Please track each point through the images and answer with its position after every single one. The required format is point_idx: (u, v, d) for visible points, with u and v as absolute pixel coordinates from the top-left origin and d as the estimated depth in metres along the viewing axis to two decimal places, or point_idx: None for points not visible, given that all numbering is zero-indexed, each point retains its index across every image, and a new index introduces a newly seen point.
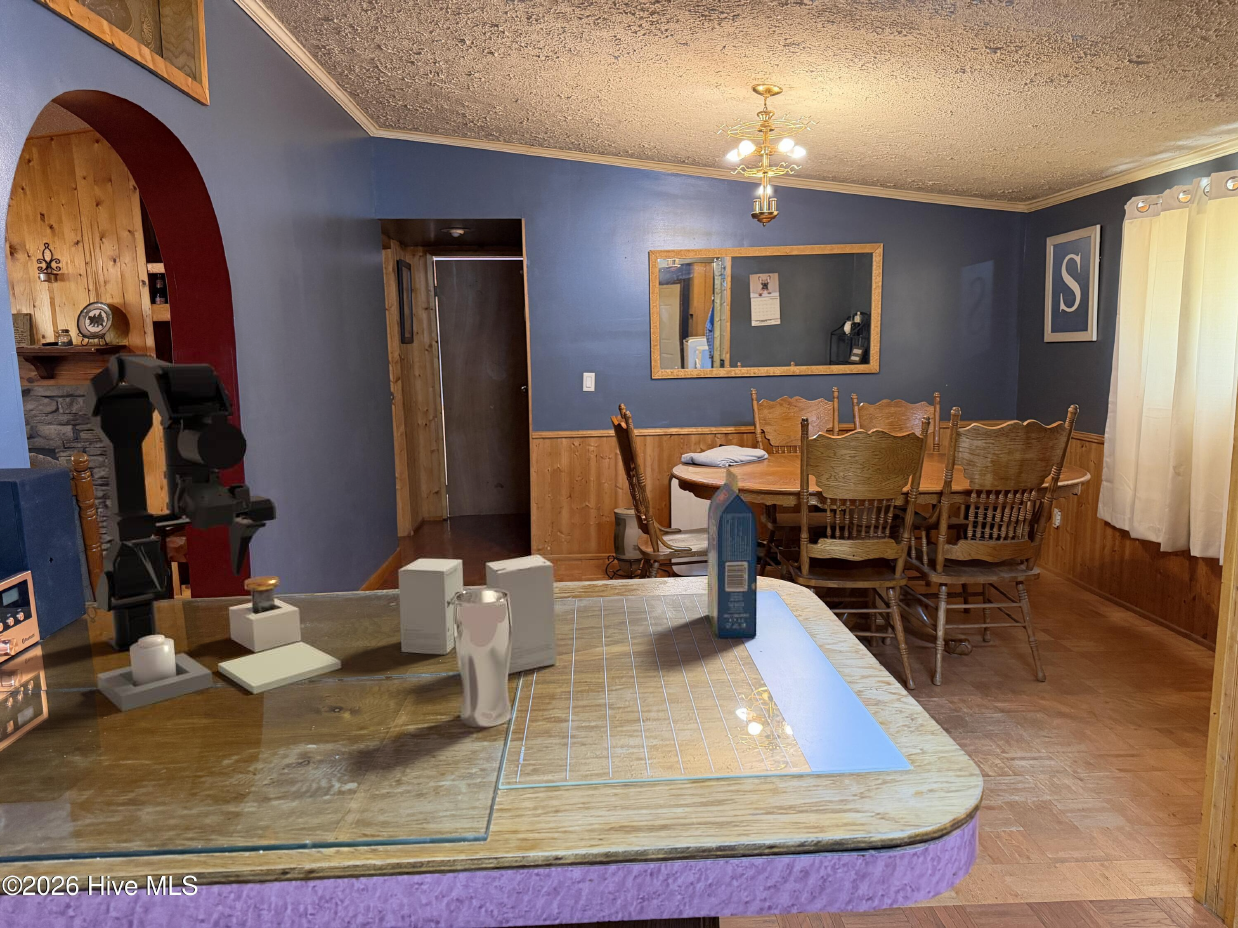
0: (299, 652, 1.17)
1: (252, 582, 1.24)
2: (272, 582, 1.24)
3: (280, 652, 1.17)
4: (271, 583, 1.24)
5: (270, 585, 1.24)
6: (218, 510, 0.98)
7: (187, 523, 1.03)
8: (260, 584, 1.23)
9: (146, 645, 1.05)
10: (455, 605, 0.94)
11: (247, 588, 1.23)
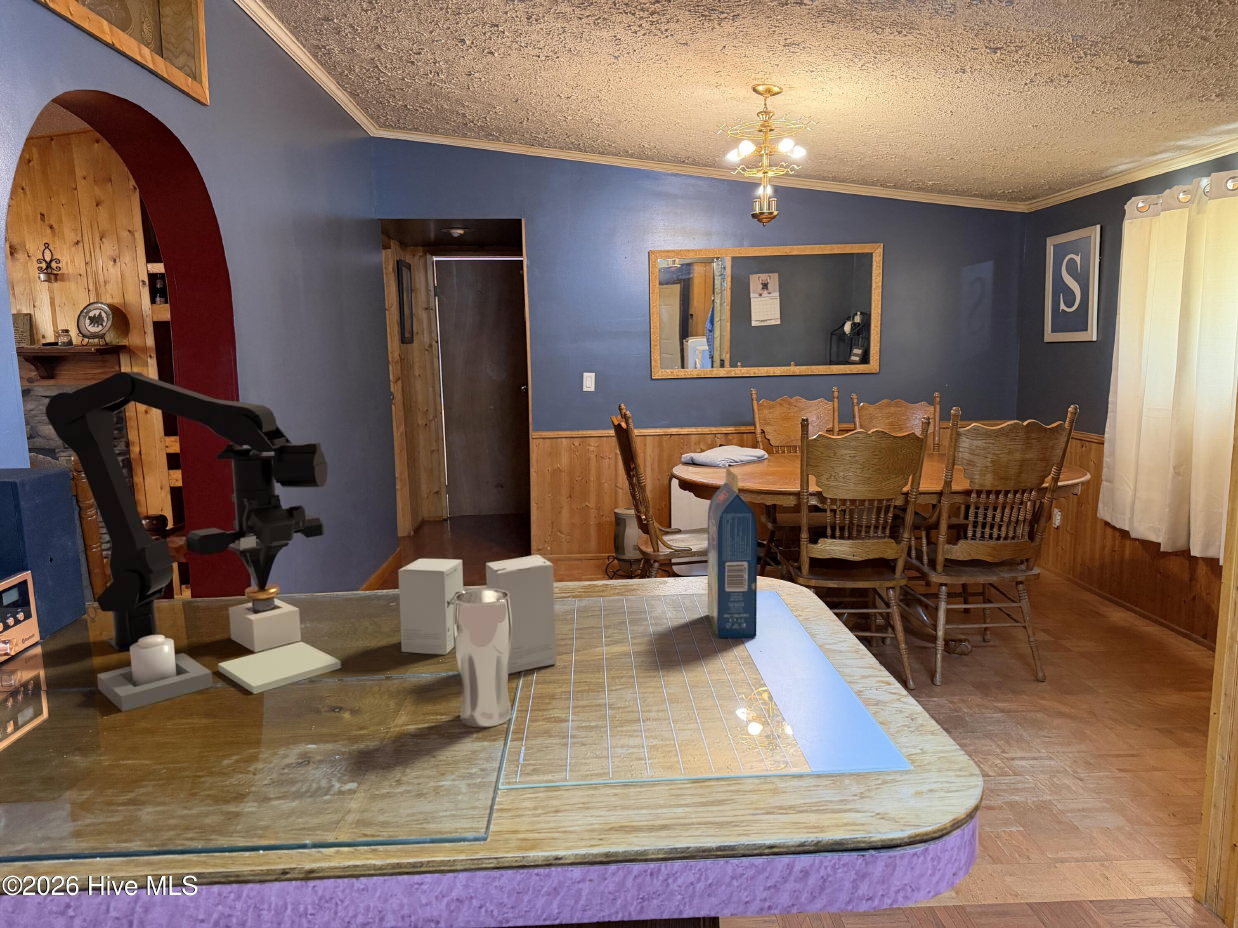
0: (299, 652, 1.17)
1: (253, 590, 1.24)
2: (273, 590, 1.24)
3: (280, 652, 1.17)
4: (272, 591, 1.24)
5: (271, 593, 1.24)
6: (280, 528, 1.18)
7: None
8: (261, 593, 1.23)
9: (146, 645, 1.05)
10: (455, 605, 0.94)
11: (248, 597, 1.23)
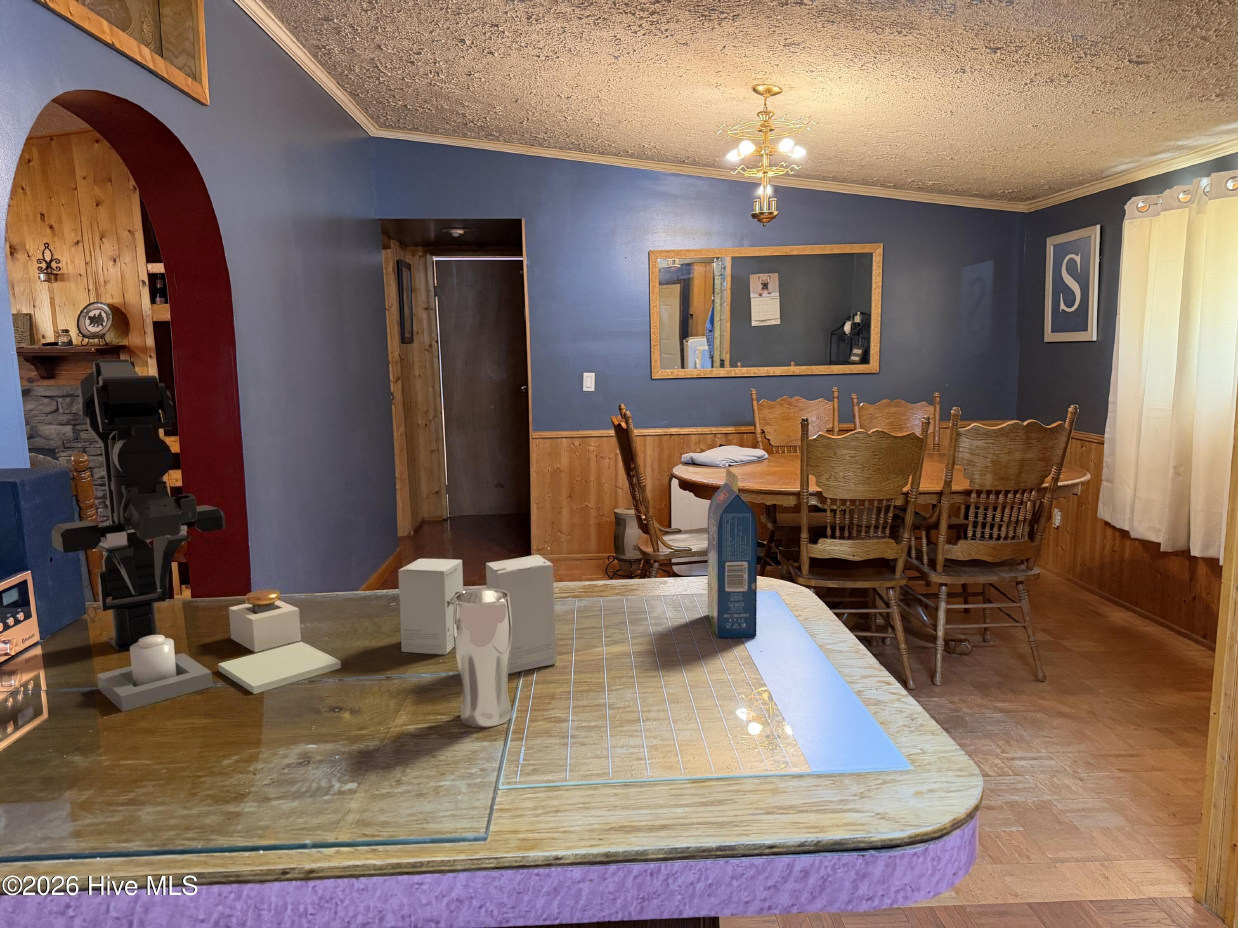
0: (299, 652, 1.17)
1: (253, 596, 1.24)
2: (273, 596, 1.24)
3: (280, 652, 1.17)
4: (272, 597, 1.24)
5: (271, 599, 1.24)
6: (163, 520, 0.99)
7: (134, 533, 1.04)
8: (261, 598, 1.23)
9: (146, 645, 1.05)
10: (455, 605, 0.94)
11: (248, 602, 1.23)
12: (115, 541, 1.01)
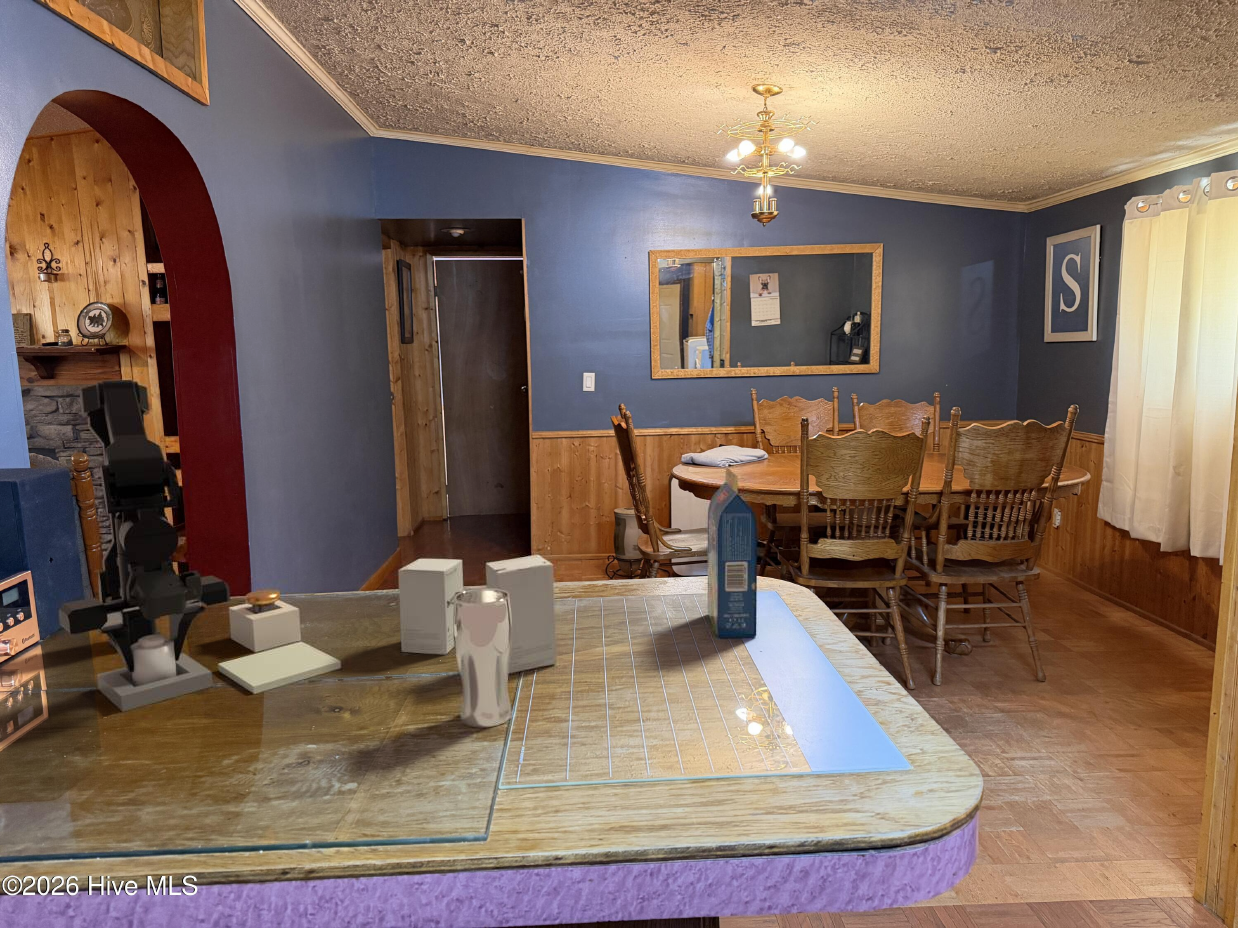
0: (299, 652, 1.17)
1: (253, 596, 1.24)
2: (273, 596, 1.24)
3: (280, 652, 1.17)
4: (272, 597, 1.24)
5: (271, 599, 1.24)
6: (168, 600, 1.00)
7: (140, 609, 1.05)
8: (261, 598, 1.23)
9: (146, 645, 1.05)
10: (455, 605, 0.94)
11: (248, 602, 1.23)
12: (110, 621, 1.01)
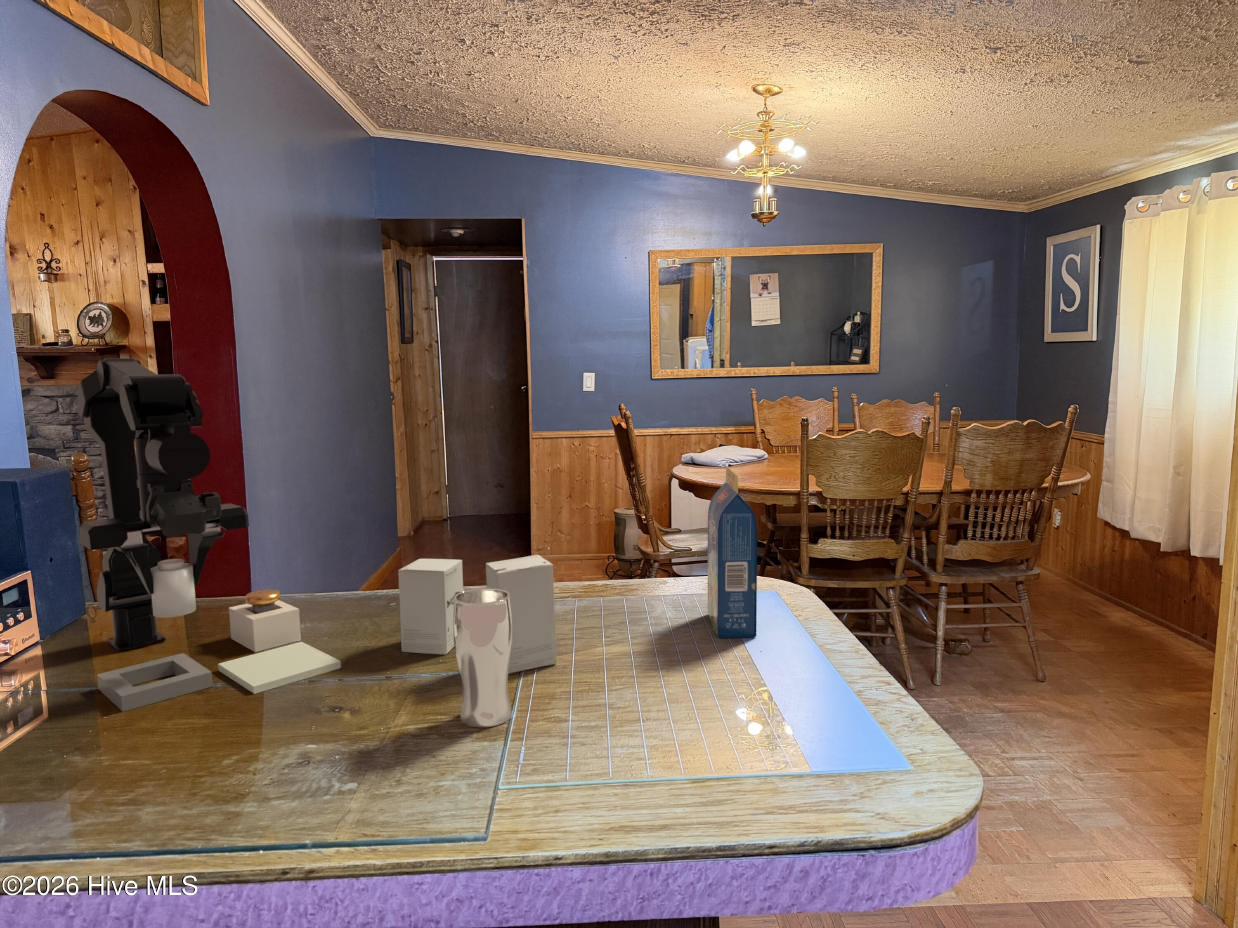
0: (299, 652, 1.17)
1: (253, 596, 1.24)
2: (273, 596, 1.24)
3: (280, 652, 1.17)
4: (272, 597, 1.24)
5: (271, 599, 1.24)
6: (188, 518, 1.00)
7: (159, 531, 1.05)
8: (261, 598, 1.23)
9: (165, 567, 1.05)
10: (455, 605, 0.94)
11: (248, 602, 1.23)
12: (130, 540, 1.01)
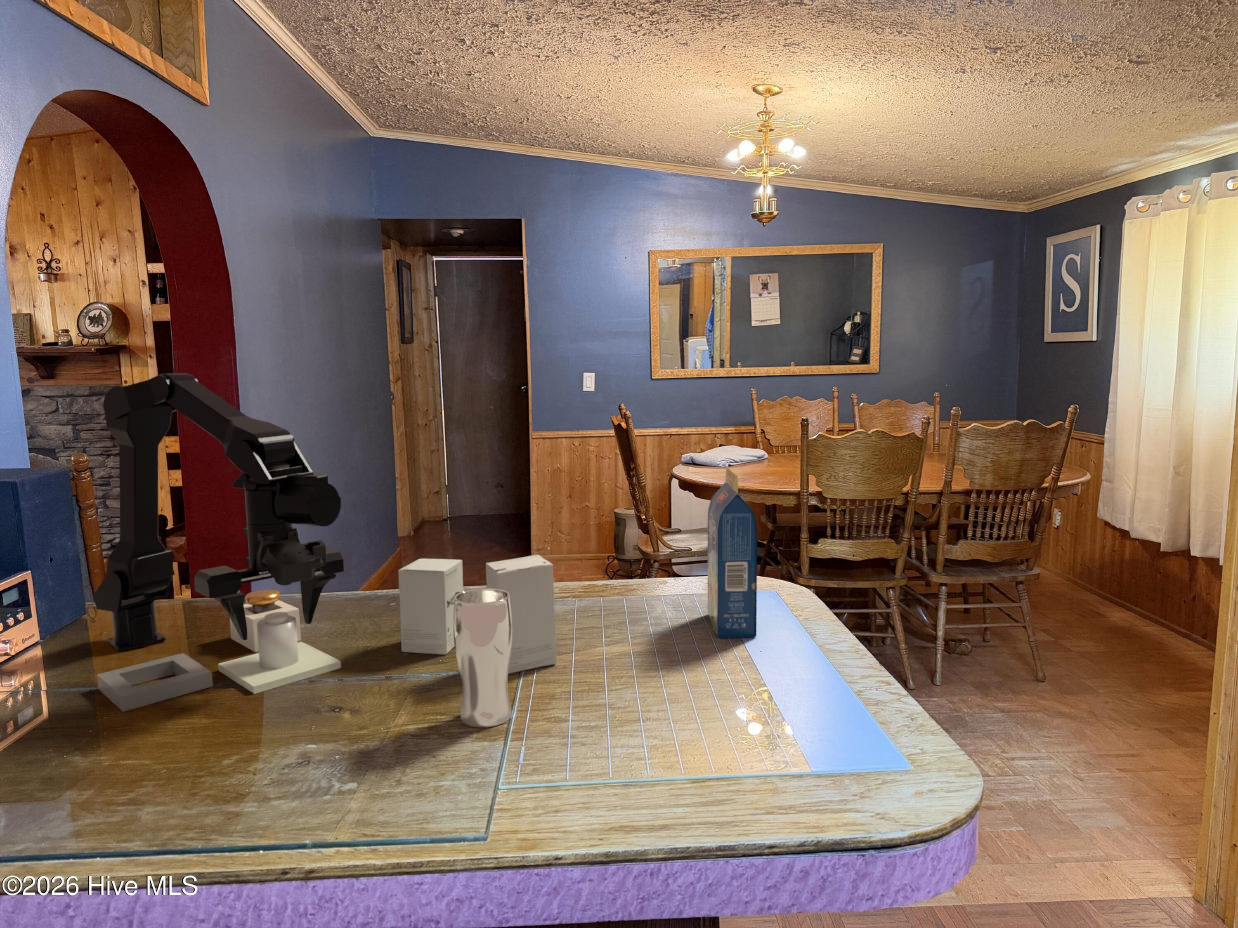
0: (299, 652, 1.17)
1: (253, 596, 1.24)
2: (273, 596, 1.24)
3: None
4: (272, 597, 1.24)
5: (271, 599, 1.24)
6: (299, 567, 1.06)
7: (266, 577, 1.11)
8: (261, 598, 1.23)
9: (273, 621, 1.11)
10: (455, 605, 0.94)
11: (248, 602, 1.23)
12: None
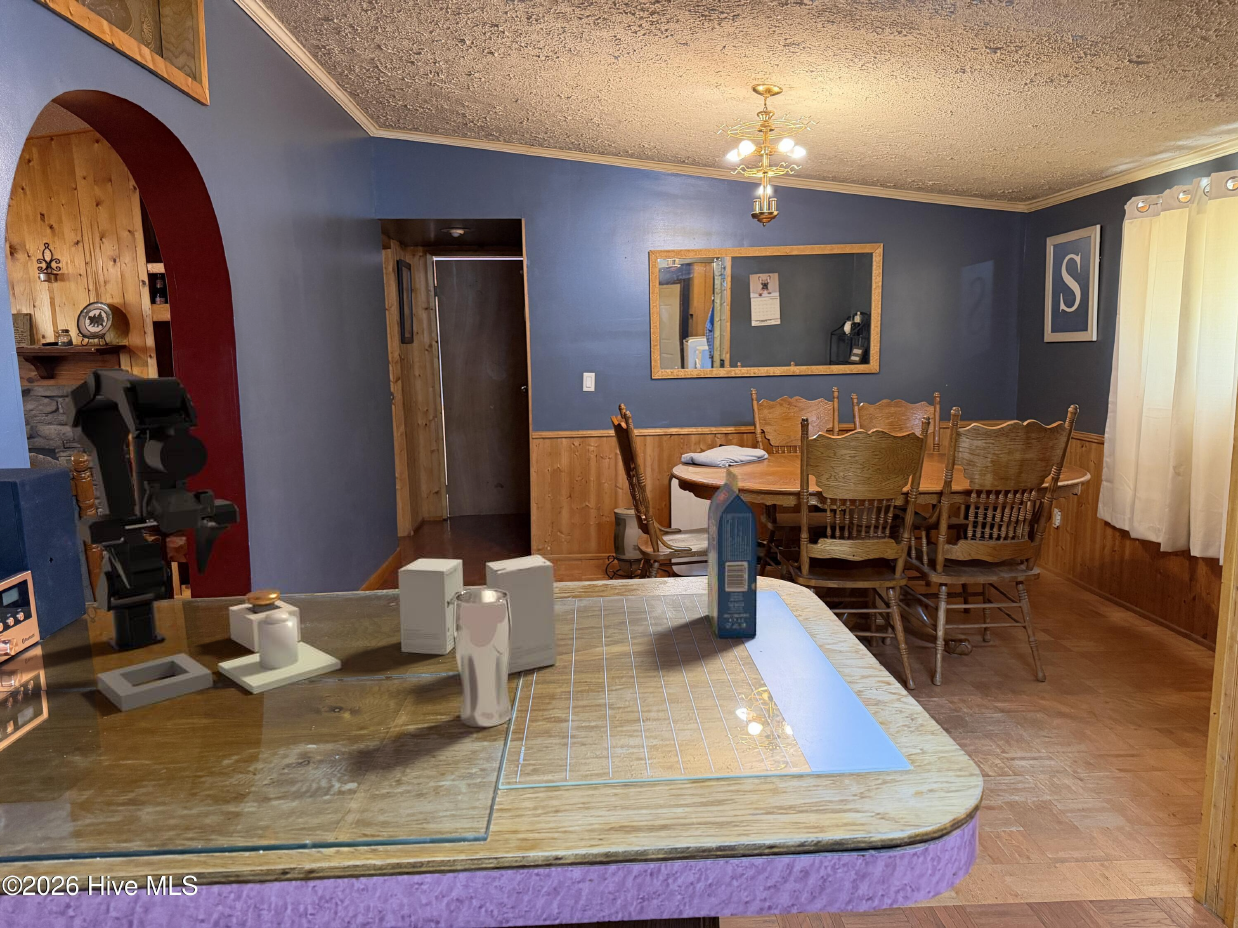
0: (299, 652, 1.17)
1: (253, 596, 1.24)
2: (273, 596, 1.24)
3: None
4: (272, 597, 1.24)
5: (271, 599, 1.24)
6: (184, 515, 1.06)
7: (155, 526, 1.11)
8: (261, 598, 1.23)
9: (273, 621, 1.11)
10: (455, 605, 0.94)
11: (248, 602, 1.23)
12: None
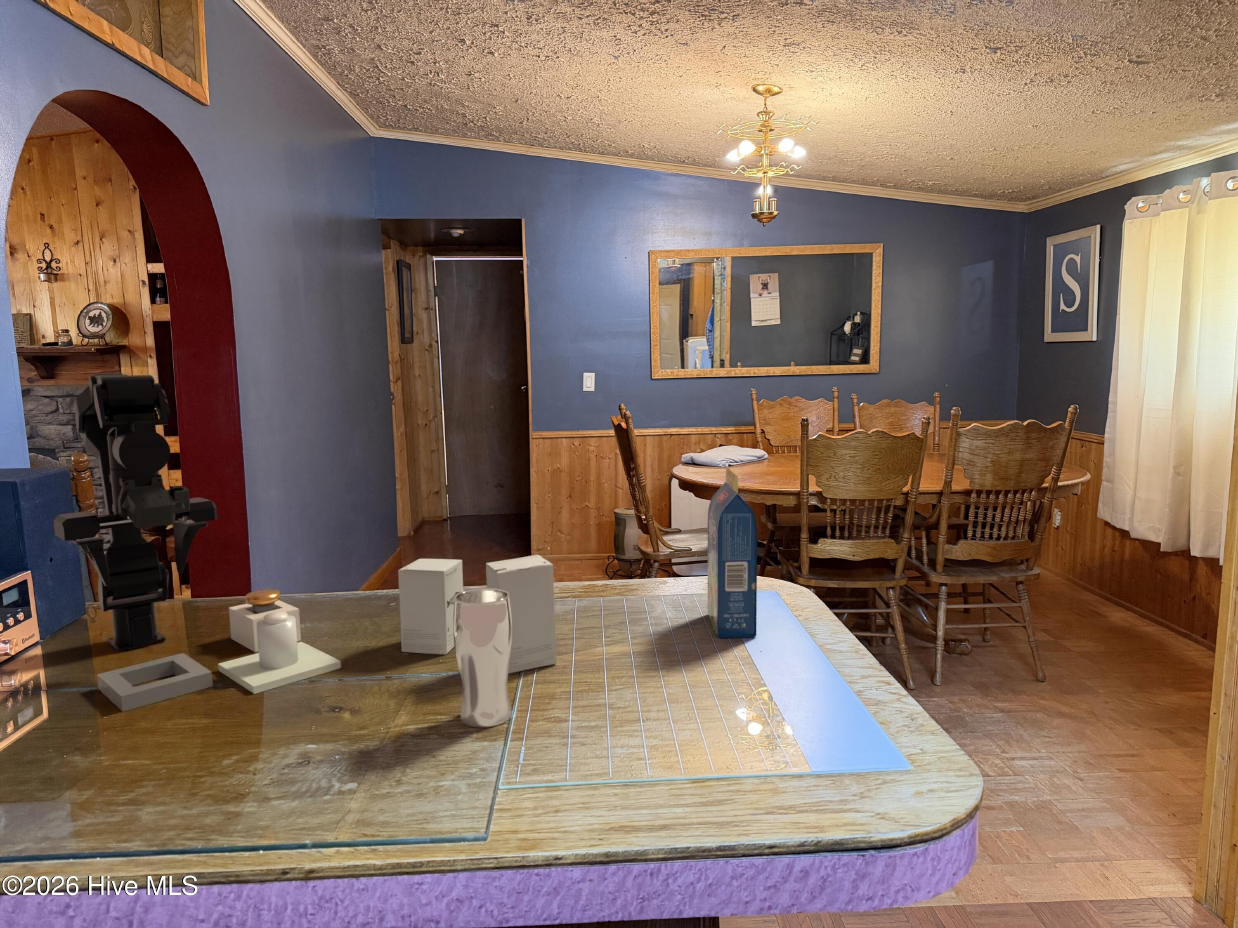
0: (299, 652, 1.17)
1: (253, 596, 1.24)
2: (273, 596, 1.24)
3: None
4: (272, 597, 1.24)
5: (271, 599, 1.24)
6: (157, 511, 1.06)
7: (131, 523, 1.11)
8: (261, 598, 1.23)
9: (272, 621, 1.11)
10: (455, 605, 0.94)
11: (248, 602, 1.23)
12: None
